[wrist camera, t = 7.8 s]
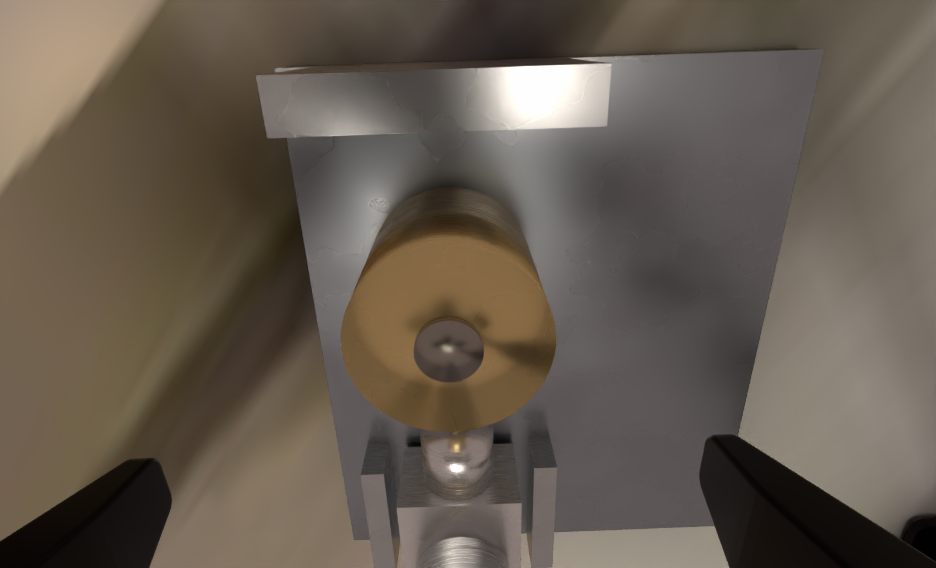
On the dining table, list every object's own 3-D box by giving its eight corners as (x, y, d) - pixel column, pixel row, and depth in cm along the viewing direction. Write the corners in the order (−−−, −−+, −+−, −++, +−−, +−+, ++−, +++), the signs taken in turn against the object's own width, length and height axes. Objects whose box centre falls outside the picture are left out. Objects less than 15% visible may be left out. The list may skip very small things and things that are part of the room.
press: (798, 48, 16) (964, 50, 10) (705, 502, 23) (775, 633, 18) (287, 66, 16) (204, 76, 10) (358, 516, 23) (330, 651, 18)
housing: (530, 184, 16) (563, 245, 11) (528, 330, 18) (554, 435, 13) (363, 190, 16) (322, 254, 11) (380, 336, 18) (352, 443, 13)
